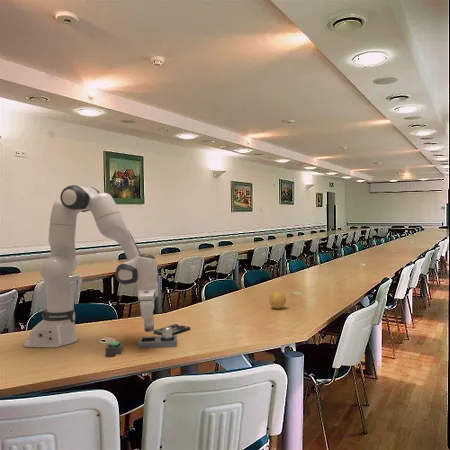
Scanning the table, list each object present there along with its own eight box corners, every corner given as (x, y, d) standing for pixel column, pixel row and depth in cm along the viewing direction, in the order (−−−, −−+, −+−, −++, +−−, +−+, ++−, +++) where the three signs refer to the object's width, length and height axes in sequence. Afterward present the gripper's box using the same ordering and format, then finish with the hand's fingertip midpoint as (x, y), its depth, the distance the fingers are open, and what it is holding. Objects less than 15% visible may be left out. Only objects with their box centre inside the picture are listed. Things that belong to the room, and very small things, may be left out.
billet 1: (144, 332, 183) (143, 315, 183) (144, 329, 187) (144, 313, 187) (153, 331, 183) (153, 315, 183) (154, 328, 187) (153, 312, 187)
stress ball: (287, 310, 253) (283, 296, 260) (288, 299, 246) (283, 286, 253) (271, 313, 252) (266, 300, 259) (271, 303, 245) (266, 289, 253)
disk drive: (175, 329, 214) (153, 336, 202) (175, 323, 214) (153, 330, 202) (190, 332, 208) (169, 339, 196) (190, 326, 208) (169, 333, 196)
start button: (109, 346, 174) (109, 343, 174) (110, 344, 178) (110, 341, 178) (118, 346, 174) (118, 343, 174) (119, 343, 178) (119, 340, 178)
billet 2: (162, 345, 184) (162, 329, 184) (163, 342, 188) (162, 326, 188) (172, 345, 184) (171, 328, 184) (172, 342, 188) (172, 326, 188)
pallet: (138, 350, 180) (137, 343, 180) (140, 343, 189) (140, 336, 189) (176, 348, 182) (176, 341, 182) (177, 342, 191) (177, 335, 191)
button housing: (105, 356, 173) (105, 348, 173) (108, 351, 179) (108, 343, 179) (121, 356, 174) (120, 347, 173) (123, 351, 179) (123, 342, 179)
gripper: (142, 288, 195) (143, 318, 195) (137, 297, 174) (138, 331, 175) (156, 287, 195) (157, 318, 196) (153, 296, 175) (154, 330, 175)
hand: (148, 324), depth 185 cm, fingers closed on billet 1, 4 cm apart
